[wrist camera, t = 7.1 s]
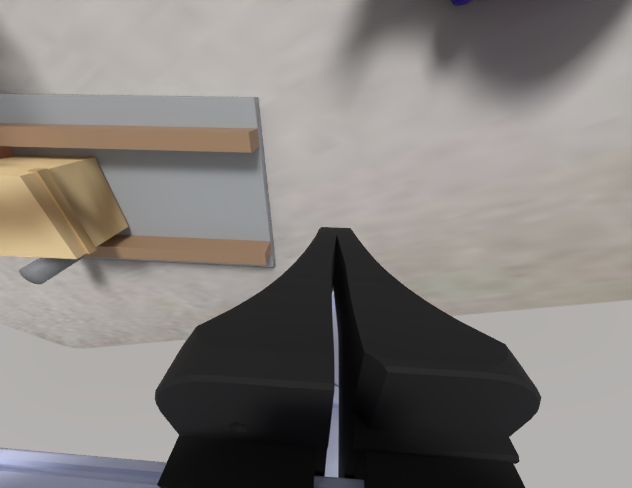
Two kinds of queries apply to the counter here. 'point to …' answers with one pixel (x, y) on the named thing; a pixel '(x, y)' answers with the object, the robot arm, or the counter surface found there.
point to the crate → (55, 207)
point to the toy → (460, 2)
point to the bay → (157, 172)
